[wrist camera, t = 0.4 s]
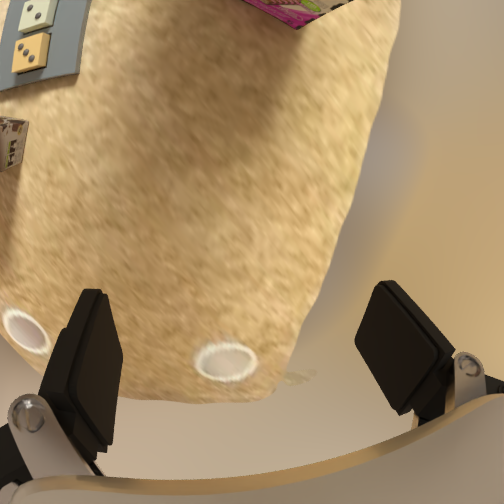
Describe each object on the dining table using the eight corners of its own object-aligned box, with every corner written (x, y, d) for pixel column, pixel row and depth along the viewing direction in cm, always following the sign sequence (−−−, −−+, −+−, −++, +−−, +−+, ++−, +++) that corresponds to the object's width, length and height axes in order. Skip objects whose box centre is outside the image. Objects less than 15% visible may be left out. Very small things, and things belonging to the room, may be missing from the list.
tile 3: (24, 42, 20) (15, 40, 18) (50, 35, 21) (42, 32, 19) (19, 72, 22) (10, 72, 20) (45, 66, 23) (37, 64, 21)
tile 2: (32, 5, 17) (24, 2, 15) (58, -3, 18) (51, -8, 16) (25, 33, 19) (17, 30, 17) (52, 25, 20) (44, 21, 18)
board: (23, -24, 13) (19, -27, 12) (105, -49, 16) (103, -53, 15) (0, 92, 23) (-6, 92, 21) (79, 73, 26) (74, 72, 24)
